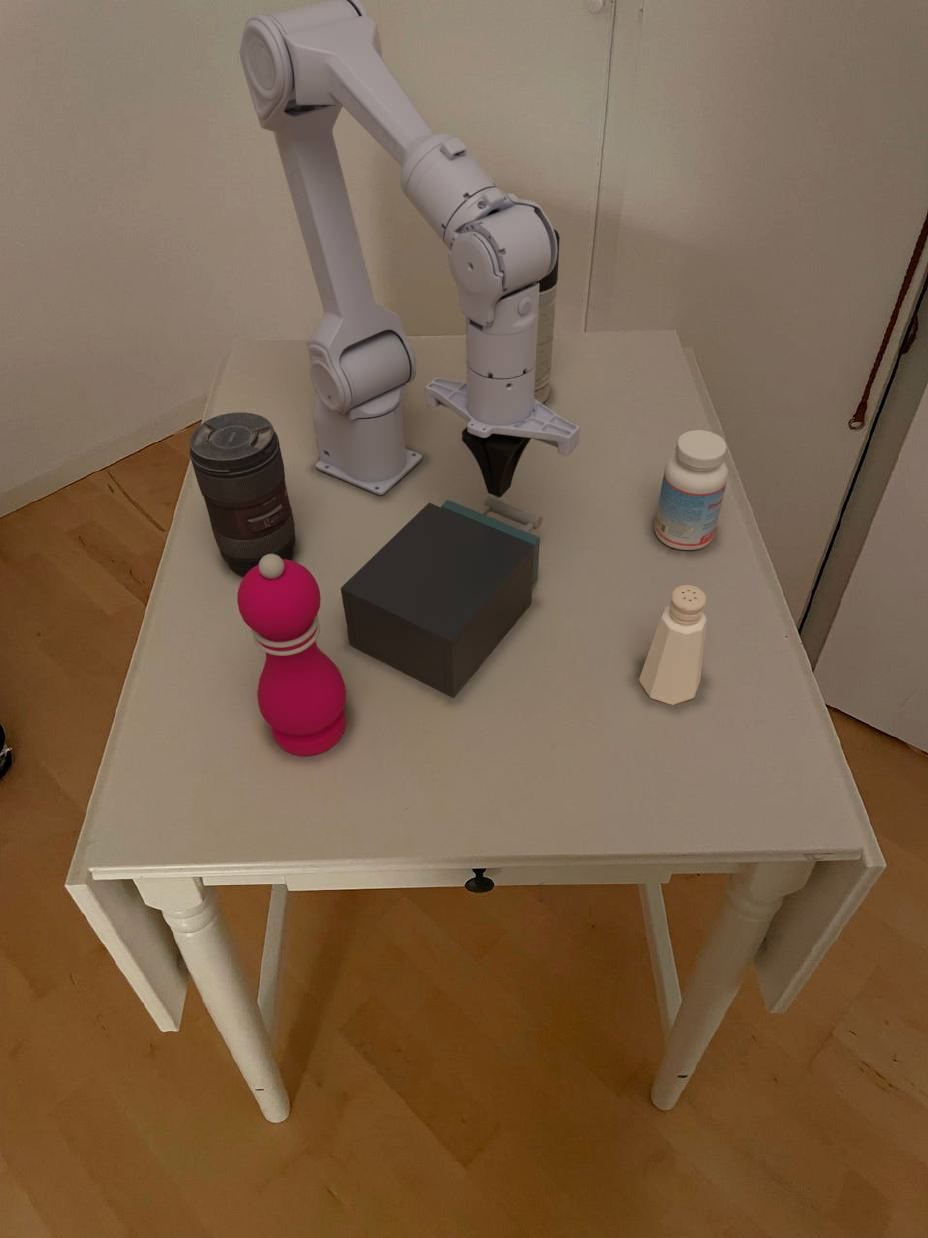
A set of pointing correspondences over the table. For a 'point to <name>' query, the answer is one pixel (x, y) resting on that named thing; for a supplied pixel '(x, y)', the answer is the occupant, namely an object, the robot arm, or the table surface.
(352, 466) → the robot arm
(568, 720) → the table surface
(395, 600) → the dark drawer box
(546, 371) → the spray can
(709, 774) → the table surface
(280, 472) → the camera lens
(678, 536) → the pill bottle
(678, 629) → the salt shaker
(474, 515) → the teal drawer
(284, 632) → the pepper mill
